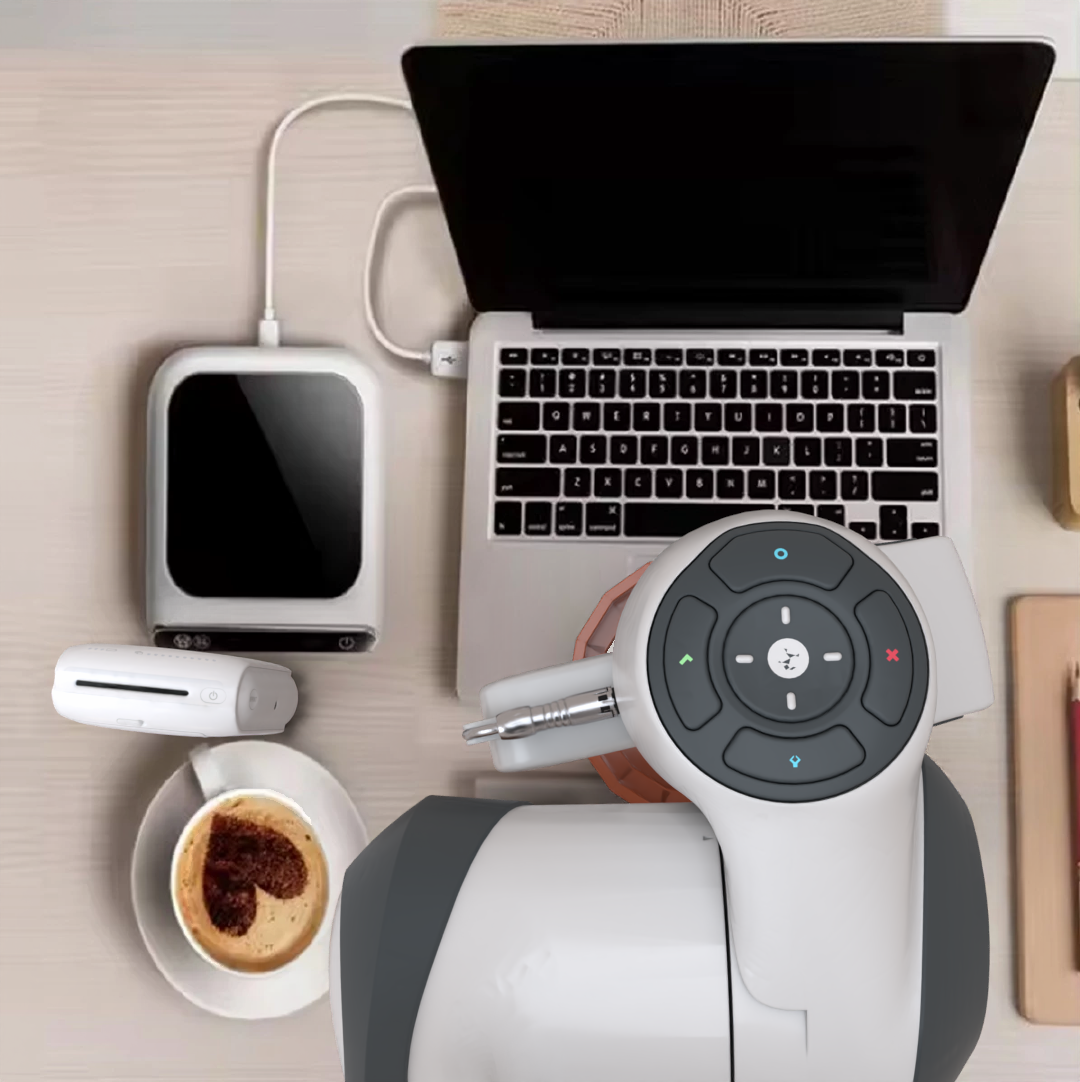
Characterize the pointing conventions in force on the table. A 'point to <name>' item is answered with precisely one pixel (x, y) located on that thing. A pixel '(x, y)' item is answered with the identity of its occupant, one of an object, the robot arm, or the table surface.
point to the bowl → (628, 766)
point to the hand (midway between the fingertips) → (715, 679)
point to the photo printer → (172, 691)
